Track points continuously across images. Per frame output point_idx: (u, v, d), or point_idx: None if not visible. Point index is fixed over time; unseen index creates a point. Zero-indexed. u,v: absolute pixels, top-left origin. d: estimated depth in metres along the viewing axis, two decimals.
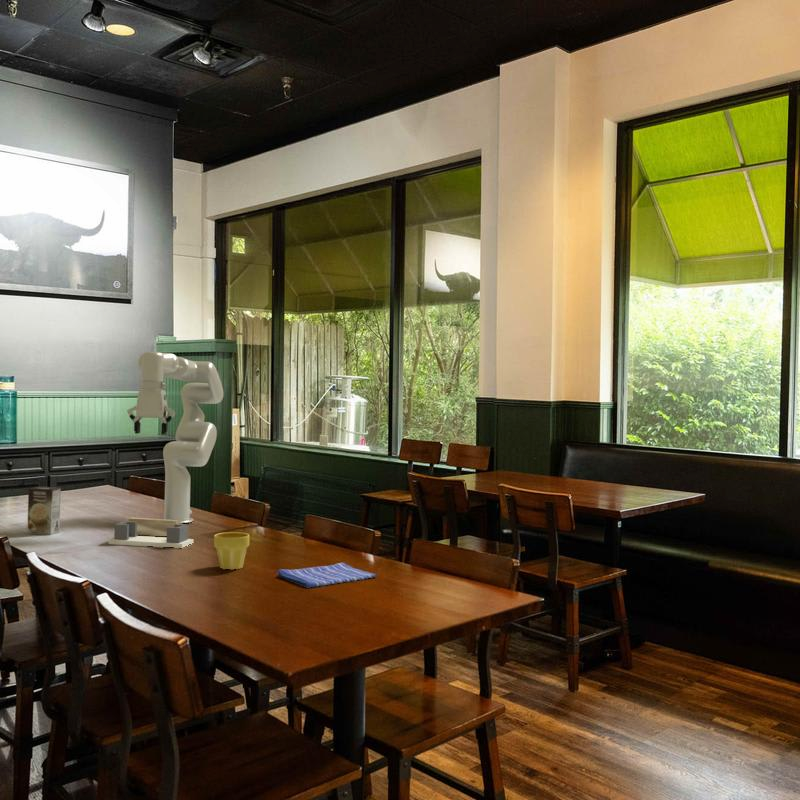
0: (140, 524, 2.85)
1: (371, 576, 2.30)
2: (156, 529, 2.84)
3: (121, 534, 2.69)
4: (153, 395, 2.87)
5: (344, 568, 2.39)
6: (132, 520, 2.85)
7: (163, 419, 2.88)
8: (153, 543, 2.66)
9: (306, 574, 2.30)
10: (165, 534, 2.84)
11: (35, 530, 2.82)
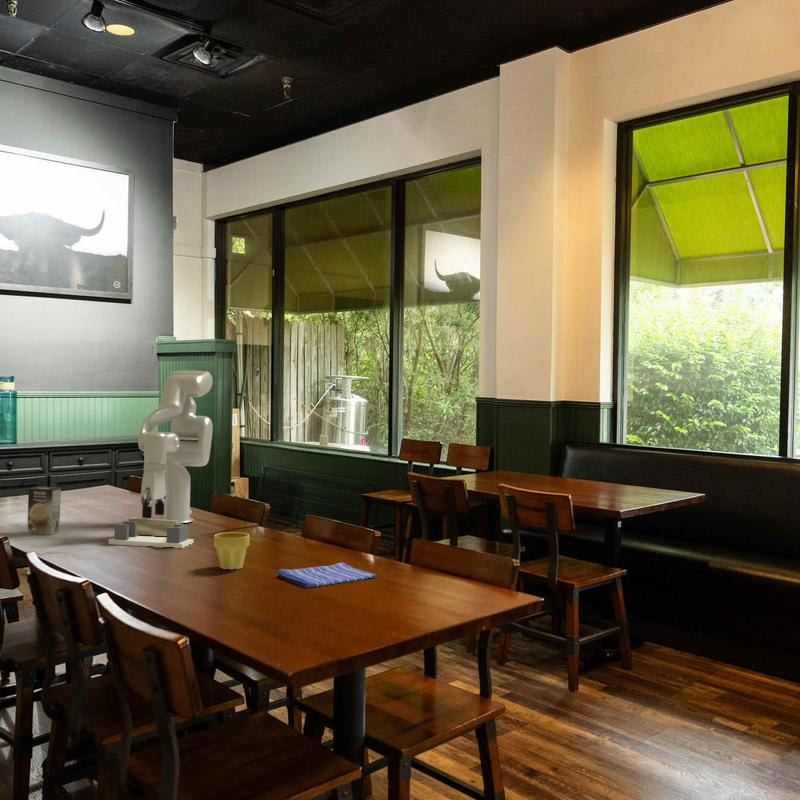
0: (140, 524, 2.85)
1: (371, 576, 2.30)
2: (156, 529, 2.84)
3: (121, 534, 2.69)
4: (163, 477, 2.86)
5: (344, 568, 2.39)
6: (132, 520, 2.86)
7: (163, 499, 2.89)
8: (153, 543, 2.66)
9: (306, 574, 2.30)
10: (165, 534, 2.83)
11: (35, 530, 2.82)
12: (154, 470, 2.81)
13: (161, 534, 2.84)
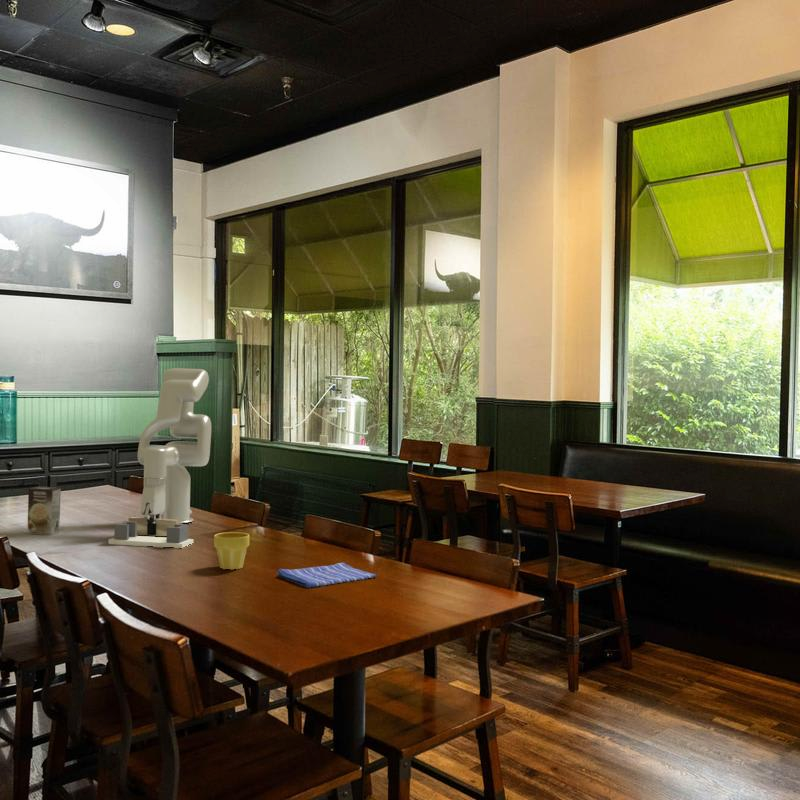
0: (140, 524, 2.85)
1: (371, 576, 2.30)
2: (156, 528, 2.84)
3: (121, 534, 2.69)
4: (163, 491, 2.86)
5: (344, 568, 2.39)
6: (132, 520, 2.85)
7: (160, 517, 2.87)
8: (153, 543, 2.66)
9: (306, 574, 2.30)
10: (165, 534, 2.83)
11: (35, 530, 2.82)
12: (154, 485, 2.82)
13: (161, 534, 2.84)
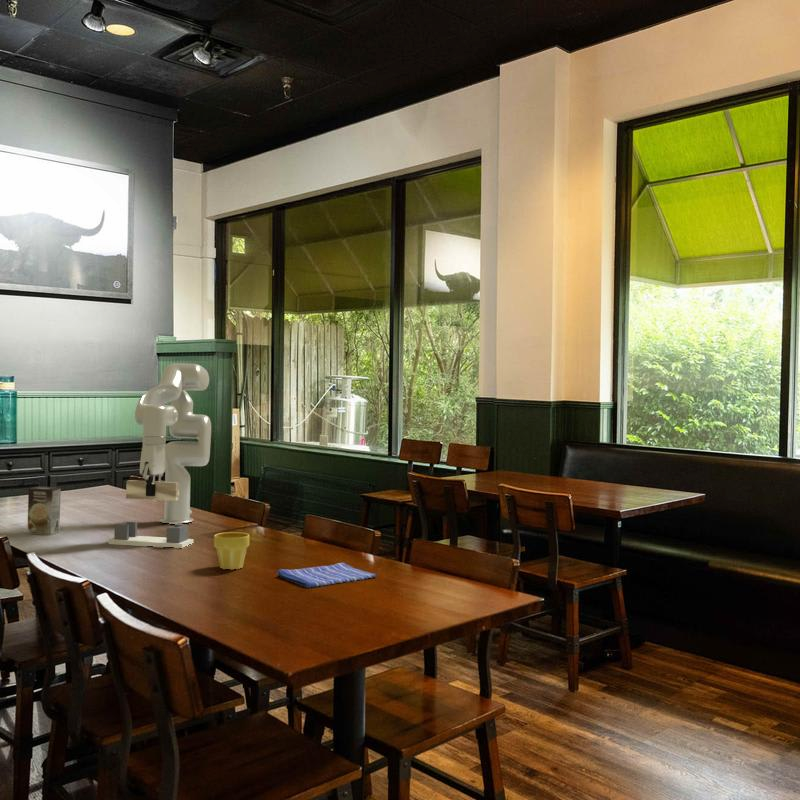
0: (138, 486, 2.74)
1: (371, 576, 2.30)
2: (155, 491, 2.73)
3: (121, 534, 2.69)
4: (162, 451, 2.75)
5: (344, 568, 2.39)
6: (130, 482, 2.74)
7: (160, 478, 2.76)
8: (153, 543, 2.66)
9: (306, 574, 2.30)
10: (164, 496, 2.72)
11: (35, 530, 2.82)
12: (153, 444, 2.71)
13: (160, 496, 2.72)
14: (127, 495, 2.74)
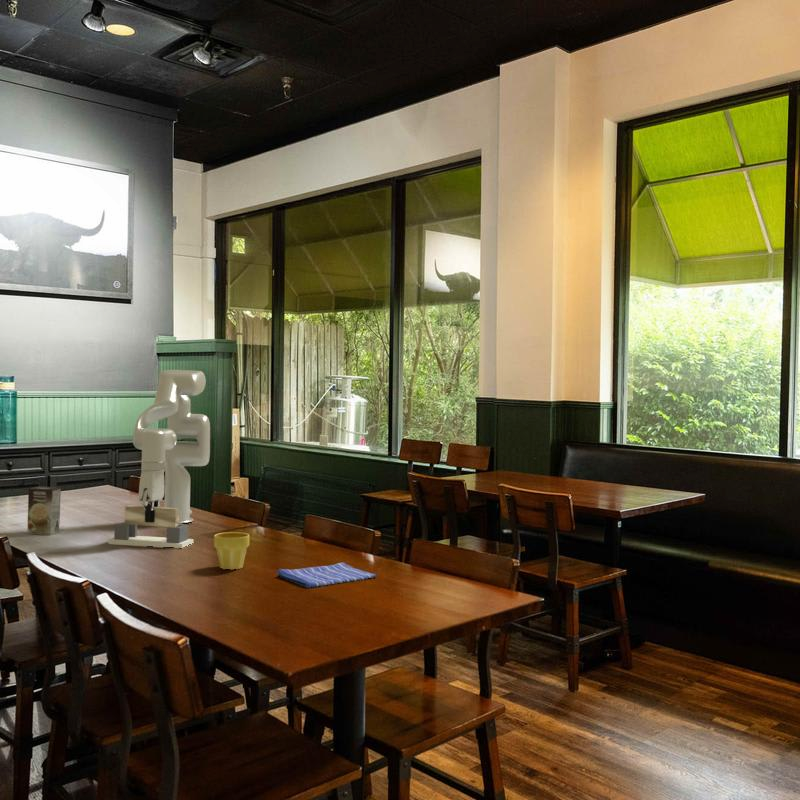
0: (137, 512, 2.70)
1: (371, 576, 2.30)
2: None
3: (121, 534, 2.69)
4: (161, 476, 2.72)
5: (344, 568, 2.39)
6: (129, 508, 2.71)
7: (159, 504, 2.73)
8: (153, 543, 2.66)
9: (306, 574, 2.30)
10: (164, 523, 2.69)
11: (35, 530, 2.82)
12: (152, 470, 2.67)
13: (160, 523, 2.69)
14: (125, 521, 2.71)
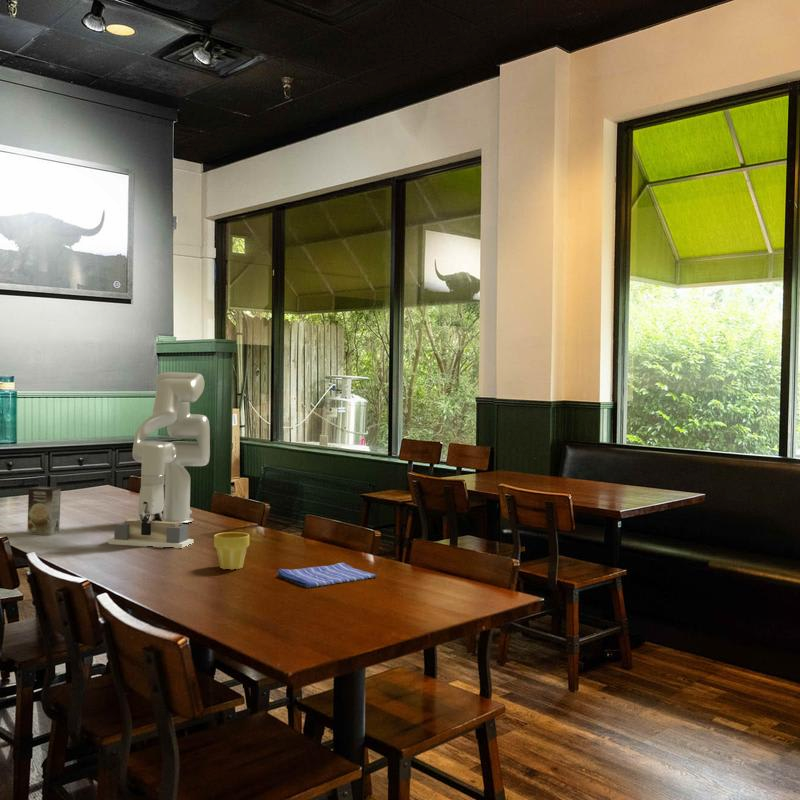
0: (137, 527, 2.70)
1: (371, 576, 2.30)
2: (154, 531, 2.69)
3: (121, 534, 2.69)
4: (161, 489, 2.72)
5: (344, 568, 2.39)
6: (129, 522, 2.71)
7: (161, 515, 2.75)
8: (153, 543, 2.66)
9: (306, 574, 2.30)
10: (163, 537, 2.69)
11: (35, 530, 2.82)
12: (152, 483, 2.67)
13: (159, 537, 2.69)
14: None
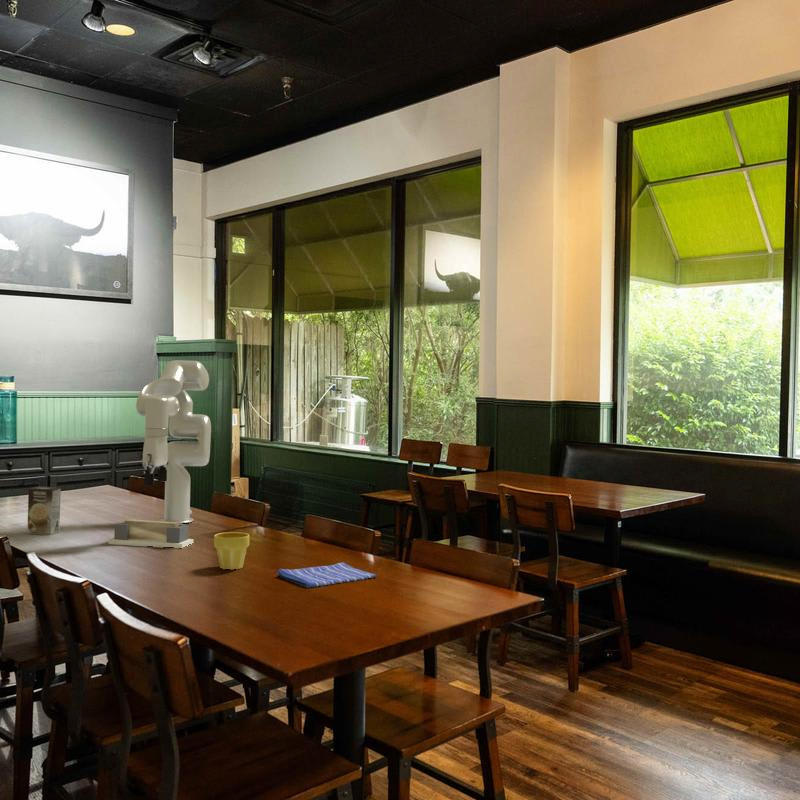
0: (137, 527, 2.70)
1: (371, 576, 2.30)
2: (154, 531, 2.69)
3: (121, 534, 2.69)
4: (165, 442, 2.75)
5: (344, 568, 2.39)
6: (129, 522, 2.71)
7: (166, 465, 2.79)
8: (153, 543, 2.66)
9: (306, 574, 2.30)
10: (163, 537, 2.69)
11: (35, 530, 2.82)
12: (156, 436, 2.70)
13: (159, 537, 2.69)
14: None
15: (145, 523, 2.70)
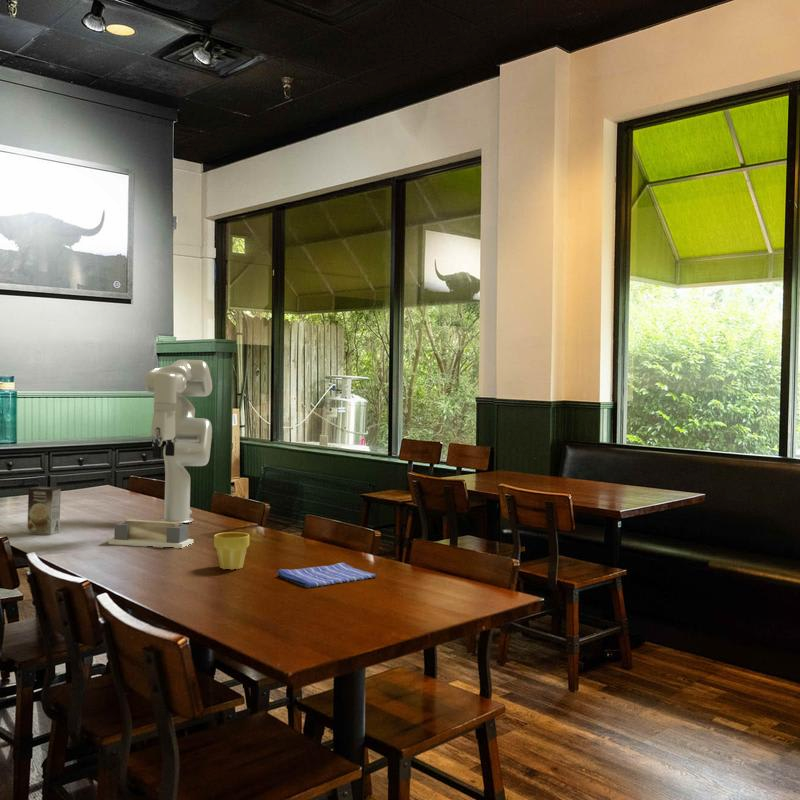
0: (137, 527, 2.70)
1: (371, 576, 2.30)
2: (154, 531, 2.69)
3: (121, 534, 2.69)
4: (173, 417, 2.84)
5: (344, 568, 2.39)
6: (129, 522, 2.71)
7: (173, 440, 2.87)
8: (153, 543, 2.66)
9: (306, 574, 2.30)
10: (163, 537, 2.69)
11: (35, 530, 2.82)
12: (164, 410, 2.79)
13: (159, 537, 2.69)
14: None
15: (145, 523, 2.70)
